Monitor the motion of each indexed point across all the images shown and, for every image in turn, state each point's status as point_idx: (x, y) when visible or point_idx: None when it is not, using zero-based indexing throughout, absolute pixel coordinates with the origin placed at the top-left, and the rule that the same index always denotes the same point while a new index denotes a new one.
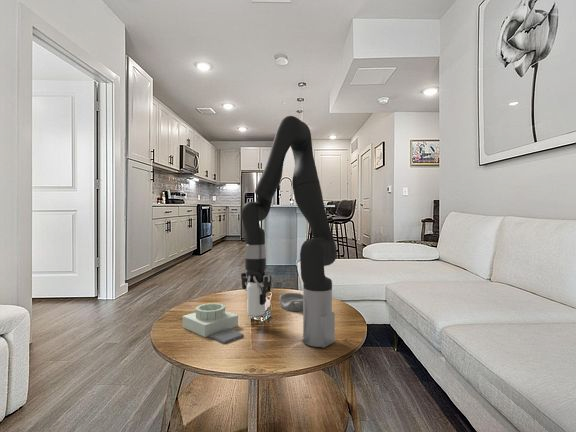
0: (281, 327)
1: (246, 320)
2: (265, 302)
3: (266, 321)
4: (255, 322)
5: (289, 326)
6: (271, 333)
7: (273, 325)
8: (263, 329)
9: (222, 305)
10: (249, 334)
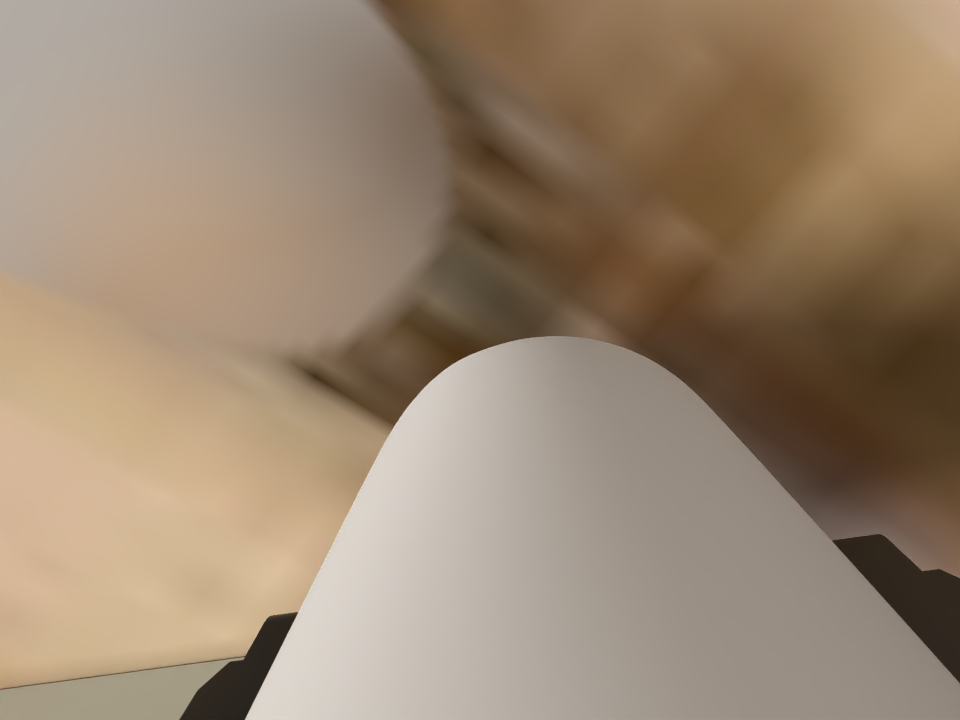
0: (876, 159)
1: (234, 419)
2: (943, 576)
3: (478, 186)
4: (404, 359)
5: (942, 14)
6: (947, 434)
7: (712, 209)
8: (740, 434)
9: None
10: None
